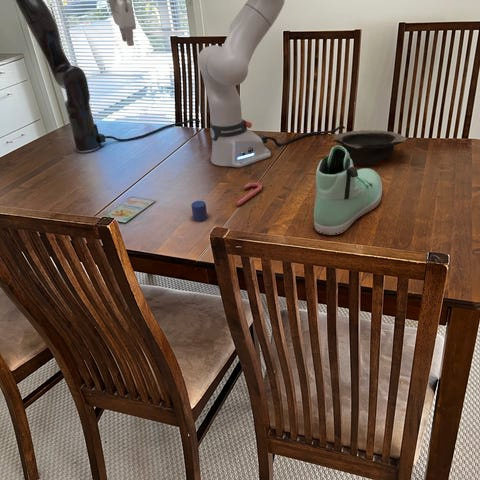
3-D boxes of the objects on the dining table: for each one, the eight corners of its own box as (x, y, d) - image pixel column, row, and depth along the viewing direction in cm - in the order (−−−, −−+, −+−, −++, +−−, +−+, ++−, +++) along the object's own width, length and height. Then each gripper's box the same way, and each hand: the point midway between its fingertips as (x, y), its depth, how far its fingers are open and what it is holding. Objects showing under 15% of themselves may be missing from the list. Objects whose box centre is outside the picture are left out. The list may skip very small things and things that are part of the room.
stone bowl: (364, 175, 156) (364, 148, 152) (319, 158, 176) (318, 133, 172) (421, 157, 165) (422, 130, 161) (371, 142, 185) (372, 118, 181)
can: (197, 213, 143) (196, 199, 141) (209, 215, 141) (208, 201, 139) (190, 219, 140) (188, 206, 137) (202, 222, 138) (201, 208, 136)
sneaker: (389, 187, 148) (396, 123, 138) (356, 242, 123) (361, 168, 112) (346, 181, 154) (350, 119, 144) (306, 232, 129) (307, 161, 118)
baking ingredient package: (101, 217, 143) (132, 196, 155) (101, 218, 144) (132, 197, 155) (125, 221, 140) (154, 200, 151) (125, 223, 140) (154, 201, 152)
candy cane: (223, 203, 147) (223, 198, 147) (250, 184, 157) (250, 180, 157) (239, 207, 144) (239, 202, 143) (266, 187, 154) (265, 183, 154)
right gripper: (135, -9, 128) (144, 46, 135) (124, -12, 144) (133, 37, 152) (112, -6, 126) (122, 49, 133) (103, -10, 143) (113, 40, 150)
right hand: (128, 43), depth 143 cm, fingers open, 8 cm apart
